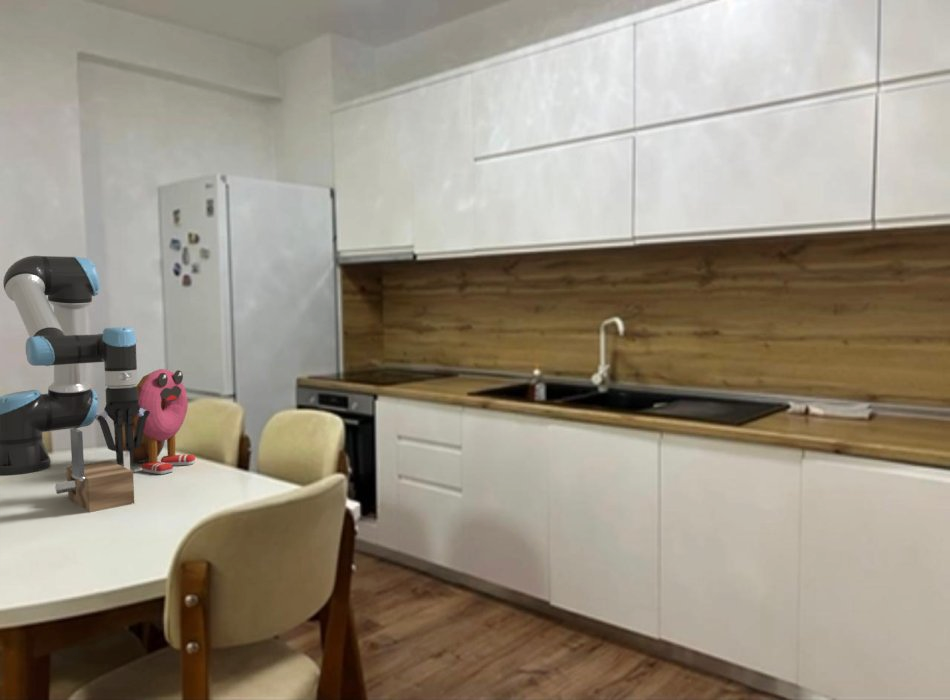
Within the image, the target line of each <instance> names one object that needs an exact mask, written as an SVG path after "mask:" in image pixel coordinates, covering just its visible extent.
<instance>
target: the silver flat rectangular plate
mask: <svg viewBox="0 0 950 700" xmlns="http://www.w3.org/2000/svg"><path fill="white" fill-rule="evenodd" d="M69 431H70V432H69V433H70V434H69V435H70V451H71V452H70V453H71V466H72V474H71V475H72V477H74V478H76V479H77V480H79V481H81V482H84V481H85V480H86V478H85V477H84V464H85V462H84V461H85V460H84V440H83V431H81V430H80V429H78V428H76V429H74V428H72V429H69Z"/></svg>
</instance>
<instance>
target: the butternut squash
mask: <svg viewBox="0 0 950 700" xmlns="http://www.w3.org/2000/svg"><path fill="white" fill-rule="evenodd" d="M137 385H138V383H137V384H136V385H135V386H137ZM122 431H123V450H126V442H125V424H124V422H123V426H122ZM135 431H136V425H135V423H134V420H133V440H134V435H135ZM165 442H166V440H164V441H159V440H157V458H158V457H159V455H160V454H161V452H162V450H163V448H164V446H165V444H166V443H165ZM133 457H134V460H133V462H132V463H139V464H141V463H142V464H143V463H146V462H149V446H148V438H147V437H145V436H144V435H143V437H142V441H141V446H140V447H137V448H135V449H134V451H133Z"/></svg>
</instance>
